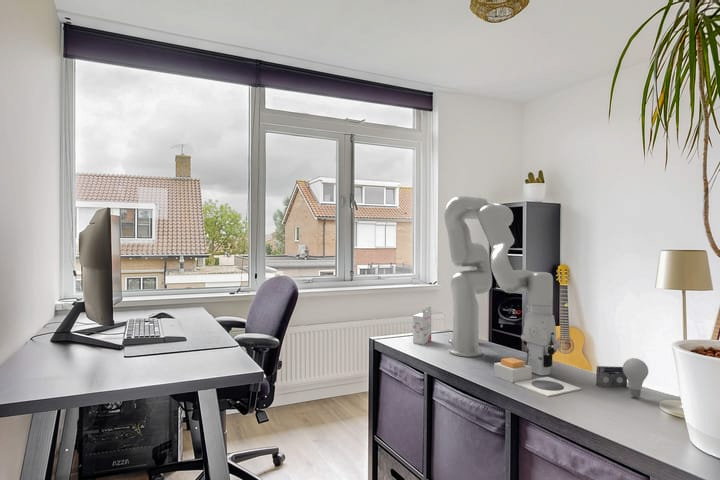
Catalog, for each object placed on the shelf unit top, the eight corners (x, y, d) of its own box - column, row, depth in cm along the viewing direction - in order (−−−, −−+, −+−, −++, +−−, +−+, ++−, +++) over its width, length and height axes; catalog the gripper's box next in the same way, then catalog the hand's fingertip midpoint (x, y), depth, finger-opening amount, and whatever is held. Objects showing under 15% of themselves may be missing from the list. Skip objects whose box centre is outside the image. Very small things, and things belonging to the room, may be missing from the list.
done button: (500, 368, 144) (500, 359, 144) (512, 366, 146) (512, 357, 146) (512, 372, 139) (512, 363, 139) (524, 370, 141) (524, 361, 141)
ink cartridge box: (421, 339, 194) (421, 305, 194) (431, 340, 192) (431, 306, 192) (412, 343, 187) (412, 308, 187) (423, 344, 185) (423, 309, 184)
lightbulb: (618, 393, 129) (618, 355, 129) (639, 394, 128) (640, 355, 128) (630, 401, 123) (630, 361, 122) (652, 401, 122) (653, 361, 122)
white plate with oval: (515, 384, 136) (515, 382, 136) (547, 377, 143) (547, 376, 143) (547, 396, 126) (547, 395, 126) (580, 389, 132) (581, 387, 132)
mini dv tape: (624, 386, 135) (624, 366, 135) (626, 387, 134) (627, 367, 134) (596, 385, 136) (596, 365, 136) (598, 387, 134) (598, 367, 134)
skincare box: (527, 370, 150) (527, 334, 150) (537, 369, 152) (537, 333, 151) (541, 376, 144) (542, 338, 144) (551, 374, 146) (552, 337, 146)
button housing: (493, 375, 144) (494, 363, 144) (512, 372, 148) (512, 360, 148) (512, 383, 137) (512, 370, 137) (531, 379, 141) (531, 366, 141)
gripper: (512, 306, 154) (511, 358, 154) (554, 314, 138) (553, 372, 138) (528, 305, 157) (527, 356, 157) (570, 313, 142) (569, 369, 142)
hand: (539, 363), depth 148 cm, fingers closed on skincare box, 6 cm apart
